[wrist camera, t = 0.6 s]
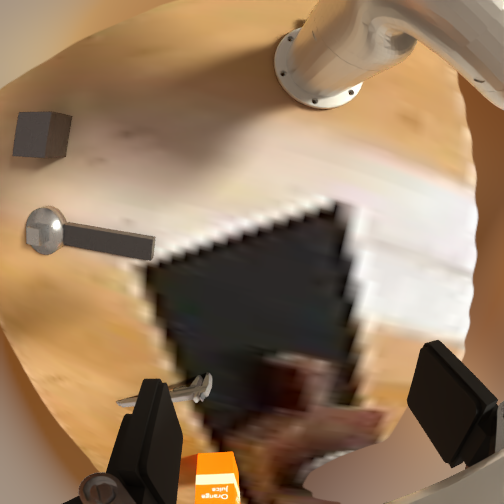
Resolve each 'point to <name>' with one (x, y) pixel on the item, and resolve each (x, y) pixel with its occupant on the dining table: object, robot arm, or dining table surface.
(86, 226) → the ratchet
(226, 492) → the orange juice
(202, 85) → the dining table surface
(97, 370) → the dining table surface
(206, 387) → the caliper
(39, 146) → the grey stone cube
